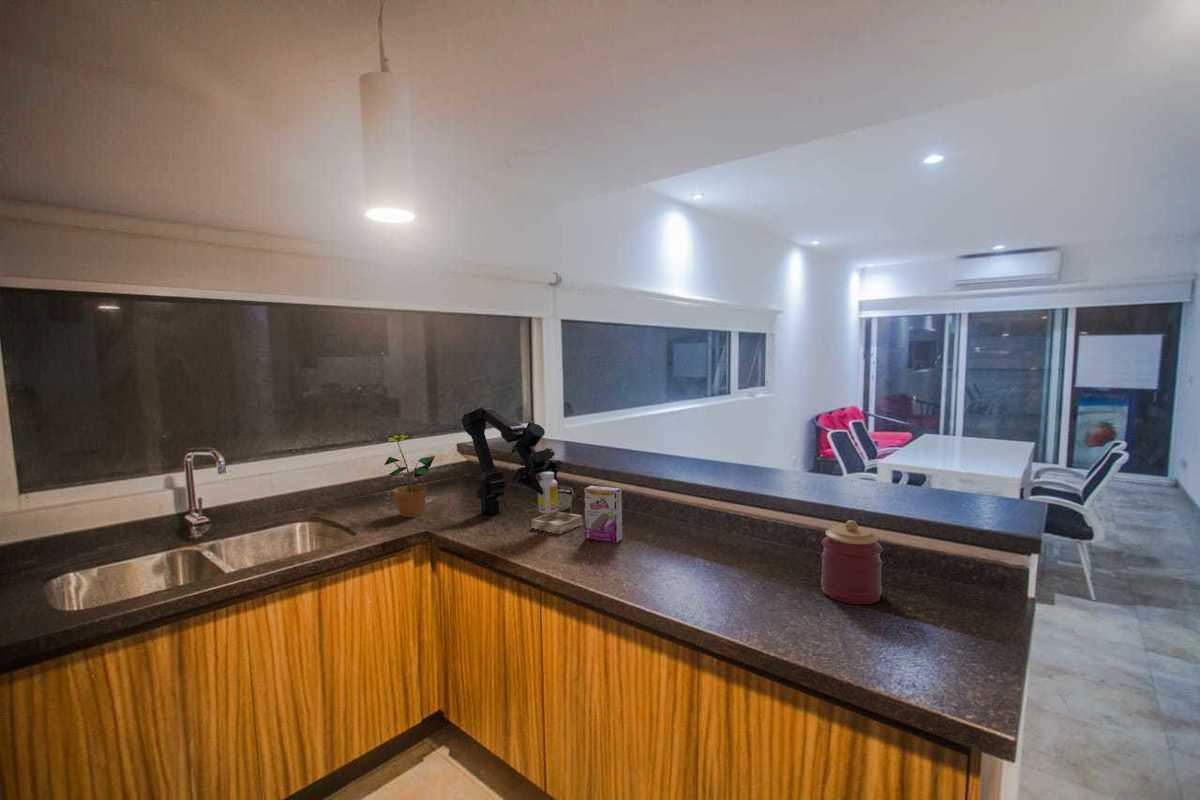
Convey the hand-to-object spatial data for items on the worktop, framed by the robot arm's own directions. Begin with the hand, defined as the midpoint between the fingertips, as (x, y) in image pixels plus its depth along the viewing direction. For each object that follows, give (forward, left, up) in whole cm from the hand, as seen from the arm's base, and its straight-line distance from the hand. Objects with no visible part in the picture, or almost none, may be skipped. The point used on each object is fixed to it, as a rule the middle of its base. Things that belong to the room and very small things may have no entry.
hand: (550, 491), depth 177 cm
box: (0, +5, -13) cm, 14 cm away
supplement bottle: (-1, +1, -7) cm, 7 cm away
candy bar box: (+19, -5, -13) cm, 24 cm away
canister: (+85, -33, -13) cm, 92 cm away
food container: (-3, +19, -13) cm, 23 cm away
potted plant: (-58, +10, -13) cm, 60 cm away
